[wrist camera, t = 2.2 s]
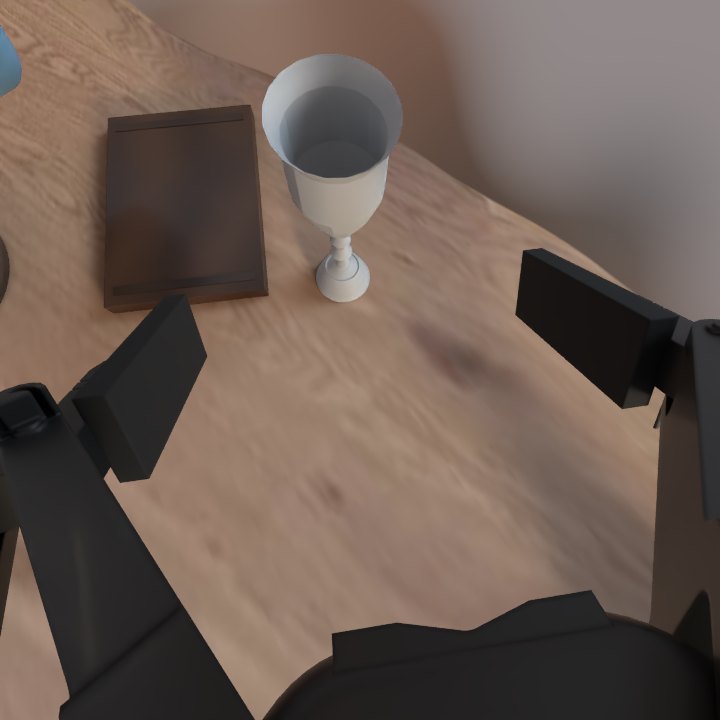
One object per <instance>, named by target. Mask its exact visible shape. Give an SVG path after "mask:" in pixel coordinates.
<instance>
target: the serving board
mask: <svg viewBox="0 0 720 720" xmlns="http://www.w3.org/2000/svg"><path fill="white" fill-rule="evenodd" d="M179 294H186V296H187V299H188V302H189V305H190V304H199V303H207V302H216V301H225V300H233V299H242V298H251V297H259V296H268V295H269V294H268V282H267V270H266V257H265V245H264V233H263V221H262V208H261V196H260V184H259V172H258V159H257V147H256V135H255V123H254V115H253V112H252V108H251V105H241V106H230V107H220V108H209V109H199V110H188V111H177V112H167V113H156V114H146V115H135V116H124V117H114V118H108V142H107V188H106V234H105V280H104V308H106V309H107V310H109V311H111V312H113V313H121V312H129V311H138V310H147V309H154V308H155V307H156V306H157V305H158V303H159V302H160V301H161V300H162V299H163V298H164V297H165V296H171V295H179Z"/></svg>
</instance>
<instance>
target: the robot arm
mask: <svg viewBox="0 0 720 720" xmlns="http://www.w3.org/2000/svg"><path fill="white" fill-rule="evenodd" d="M21 72H22V68H21V62H20V59H19V56H18V54H17V52H16V50H15V48H14V46H13V45H12V43H11V41H10V40H9V38H8V36H7V35H6V33H5V32H4V30H3V28H2V27H1V25H0V97H2V96H3V95H5V94H7V93H8V92H10V91H11V90H13V89H14V88H16V86H17V85H18V84H19V82H20V80H21ZM8 278H9V258H8V253H7V250H6V247H5V245H4V242H3V240H2V239H1V237H0V303H1V301H2V298H3V296H4V293H5V291H6V287H7V283H8ZM516 316H517V317H518V318H520V319H521V320H522V321H523V322H524V323H525V324H526V325H528V326H529V327H530V328H531V329H532V330H533V331H534V332H535V333H537V334H538V335H539V336H540V337H541V338H542V339H543V340H544V341H546V342H547V343H548V344H549V345H550V346H551V347H552V348H554V349H555V350H556V351H557V352H558V353H559V354H560V355H561V356H563V357H564V358H565V359H566V360H567V361H568V362H569V363H570V364H572V365H573V366H574V367H575V368H576V369H577V370H578V371H580V372H581V373H582V374H583V375H584V376H585V377H586V378H587V379H589V380H590V381H591V382H592V383H593V384H594V385H595V386H596V387H598V388H599V389H600V390H601V391H602V392H603V393H604V394H606V395H607V396H608V397H609V398H610V399H611V400H612V401H613V402H615V403H616V404H617V405H618V406H619V407H620V408H621V409H625V408H632V407H639V406H646V405H648V404H649V401H650V398H651V395H652V392H653V390H654V387H656V388H658V389H659V390H660V391H662V392H663V393H665V394H666V395H665V398H664V400H663V403H662V405H661V408H660V411H659V413H658V416H657V419H656V421H655V424H654V427H653V428H656V429H658V428H659V427H660V440H659V460H658V480H657V501H656V521H655V541H654V562H653V582H652V602H651V616H650V622H649V624H648V623H645V622H642V621H639V620H636V619H633V618H630V617H626V616H622V615H618V614H613V613H609V612H604V610H603V608H602V607H601V605H600V603H599V602H598V600H597V598H596V597H595V595H594V594H593V592H592V590H589V591H583V592H577V593H571V594H565V595H559V596H553V597H547V598H541V599H535V600H530V601H527V602H526V603H524V604H522V605H520V606H518V607H516V608H514V609H512V610H510V611H508V612H506V613H504V614H503V615H501V616H499V617H497V618H495V619H493V620H491V621H489V622H487V623H485V624H483V625H481V626H480V627H478V628H476V629H473V630H469V631H461V630H453V629H445V628H437V627H428V626H420V625H412V624H403V623H392V624H386V625H380V626H374V627H368V628H362V629H356V630H350V631H345V632H339V633H333V634H332V647H333V655H332V656H330V657H328V658H326V659H324V660H322V661H321V662H319V663H318V664H316V665H315V666H313V667H312V668H310V669H309V670H307V671H306V672H305V673H304V674H302V675H301V676H300V677H299V678H298V679H297V680H296V681H294V682H293V683H292V684H291V685H290V686H289V687H288V688H287V689H286V691H285V692H284V693H283V694H282V695H281V696H280V697H279V698H278V699H277V701H276V702H275V703H274V705H273V706H272V707H271V709H270V710H269V711H268V713H267V714H266V715H265V717H264V718H263V720H720V320H717V319H705V320H699V321H696V322H693V321H691V320H688V319H686V318H684V317H682V316H680V315H678V314H676V313H674V312H672V311H670V310H668V309H665V308H663V307H662V306H660V305H658V304H656V303H653V302H652V301H650V300H648V299H646V298H644V297H641V296H640V295H636V294H634V293H632V292H630V291H628V290H626V289H624V288H622V287H620V286H618V285H616V284H614V283H612V282H610V281H608V280H606V279H604V278H602V277H600V276H598V275H596V274H594V273H592V272H589V271H587V270H585V269H583V268H581V267H579V266H577V265H575V264H573V263H571V262H569V261H567V260H565V259H563V258H561V257H559V256H557V255H555V254H553V253H551V252H549V251H547V250H545V249H543V248H539V249H531V250H524V251H523V256H522V264H521V273H520V281H519V289H518V298H517V306H516ZM206 358H207V354H206V351H205V348H204V345H203V343H202V340H201V337H200V334H199V331H198V328H197V325H196V322H195V319H194V316H193V313H192V311H191V308H190V305H189V302H188V299H187V296H186V294H179V295H171V296H165V297H164V298H163V299H162V300H161V301H160V302H159V303H158V305H157V306H156V307H155V308H154V309H153V310H152V311H151V312H150V313H149V314H148V316H147V317H146V318H145V319H144V320H143V321H142V322H141V323H140V324H139V325H138V326H137V328H136V329H135V330H134V331H133V332H132V333H131V334H130V335H129V336H128V337H127V339H126V340H125V341H124V342H123V343H122V344H121V345H120V346H119V347H118V348H117V349H116V351H115V352H114V353H113V354H112V355H111V356H110V357H109V358H108V359H107V360H106V361H104V362H102V363H101V364H99V365H98V366H96V367H94V368H93V369H91V370H90V371H89V372H88V373H87V374H86V375H85V376H84V377H83V378H82V379H81V380H80V382H79V383H77V384H76V385H75V386H74V388H73V391H70V392H69V393H68V394H67V395H66V396H65V397H64V398H63V399H62V400H61V401H60V402H59V403H58V404H56V402H55V400H54V399H53V397H52V396H51V394H50V392H49V391H48V389H47V388H46V386H45V385H43V384H42V383H27V384H22V385H18V386H15V387H11V388H8V389H6V390H3V391H1V392H0V635H1V629H2V623H3V618H4V612H5V606H6V600H7V595H8V589H9V583H10V577H11V572H12V566H13V560H14V554H15V549H16V543H17V537H18V531H19V527H20V529H21V532H22V536H23V539H24V542H25V546H26V549H27V552H28V556H29V559H30V562H31V566H32V569H33V572H34V576H35V579H36V582H37V586H38V589H39V592H40V596H41V599H42V602H43V606H44V609H45V612H46V616H47V619H48V622H49V626H50V629H51V632H52V636H53V639H54V642H55V646H56V649H57V653H58V656H59V659H60V663H61V666H62V669H63V673H64V676H65V679H66V683H67V686H68V690H69V695H70V697H69V700H67V701H66V702H65V703H64V704H63V705H61V706H60V712H59V720H255V719H254V718H253V716H252V715H251V713H250V711H249V710H248V708H247V707H246V705H245V703H244V702H243V700H242V699H241V697H240V695H239V694H238V692H237V691H236V689H235V687H234V686H233V684H232V683H231V681H230V679H229V678H228V676H227V675H226V673H225V671H224V670H223V668H222V667H221V665H220V664H219V662H218V660H217V659H216V657H215V656H214V654H213V652H212V651H211V649H210V648H209V646H208V644H207V643H206V641H205V640H204V638H203V636H202V635H201V633H200V632H199V630H198V628H197V627H196V625H195V624H194V622H193V620H192V619H191V617H190V616H189V614H188V613H187V611H186V609H185V608H184V606H183V605H182V603H181V602H180V600H179V599H178V597H177V595H176V594H175V592H174V591H173V589H172V587H171V586H170V584H169V583H168V581H167V579H166V578H165V576H164V575H163V573H162V571H161V570H160V568H159V567H158V565H157V563H156V562H155V560H154V559H153V557H152V555H151V554H150V552H149V551H148V549H147V547H146V546H145V544H144V543H143V541H142V539H141V538H140V536H139V535H138V533H137V532H136V530H135V528H134V527H133V525H132V524H131V522H130V520H129V519H128V517H127V516H126V514H125V512H124V511H123V509H122V508H121V506H120V504H119V503H118V501H117V500H116V498H115V496H114V495H113V493H112V492H111V490H110V488H109V487H108V485H107V484H106V482H105V480H104V479H103V478H104V477H105V475H106V474H107V472H108V470H109V469H110V467H111V468H112V470H113V472H114V474H115V475H116V477H117V479H118V480H119V482H120V483H123V482H129V481H136V480H143V479H149V478H150V476H151V474H152V472H153V470H154V467H155V465H156V463H157V461H158V459H159V457H160V455H161V453H162V451H163V449H164V446H165V444H166V442H167V440H168V438H169V436H170V434H171V432H172V430H173V427H174V425H175V423H176V421H177V419H178V417H179V415H180V413H181V411H182V409H183V406H184V404H185V402H186V400H187V398H188V396H189V394H190V392H191V390H192V387H193V385H194V383H195V381H196V379H197V377H198V375H199V373H200V371H201V368H202V366H203V364H204V362H205V360H206Z"/></svg>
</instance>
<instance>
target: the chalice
mask: <svg viewBox="0 0 720 720" xmlns="http://www.w3.org/2000/svg"><path fill="white" fill-rule="evenodd" d="M402 124H403V116H402V106H401V101H400V99H399V97H398V95H397V93H396V91H395V89H394V86H393V85H392V84H391V82H390V81H389V80H388V79H387V78H386V77H385V76H384V75H383V74H382V73H381V72H380V71H379V70H378V69H376V68H375V67H373V66H371V65H369V64H368V63H366V62H364V61H363V60H361V59H357V58H353V57H349V56H346V55H342V54H318V55H315V56H312V57H308V58H305V59H302V60H299V61H297V62H295V63H294V64H292V65H291V66H289V67H288V68H286V69H285V70H283V71H282V72H280V74H279V75H278V76H277V77H276V79H275V80H274V81H273V82H272V84H271V85H270V86H269V87H268V90H267V93H266V96H265V99H264V102H263V105H262V125H263V128H264V131H265V133H266V136H267V139H268V141H269V144H270V145H271V146H272V147H273V149H274V150H275V151H276V152H277V154H278V155H279V156H280V157H281V159H282V163H283V167H284V171H285V175H286V179H287V183H288V187H289V191H290V193H291V196H292V199H293V201H294V203H295V205H296V206H297V207H298V208H299V210H300V211H301V212H302V213H303V215H304V216H305V217H306V218H307V219H308V220H309V221H310V223H311V224H312V225H313V226H315V227H316V228H318V229H319V230H321V231H322V232H324V233H326V234H327V235H329V236H330V241H331V243H332V244H333V245H332V247H331V253H330V254H329V255H327V256H326V258H325V259H324V260H323V261H322V262H321V264H320V265H319V267H318V270H317V273H316V283H317V285H318V288H319V290H320V291H321V292H322V294H323V295H324V296H325V297H327V298H329V299H330V300H332V301H336V302H340V303H341V302H350V301H353V300H356V299H358V298H359V297H360V296H362V295H363V294H364V292H365V291H366V289H367V288H368V285H369V281H370V273H369V270H368V268H367V265H366V264H365V263H364V262H363V260H362V259H361V258H359V256H357V255H356V254H355V253H353V252H352V248H351V246H350V245H349V243H350V241H351V236H350V235H352V234H353V233H354V232H356V231H357V230H358V229H360V228H361V227H362V226H364V225H365V224H366V223H367V221H368V220H369V219H370V217H371V216H372V214H373V213H374V212H375V210H376V209H377V207H378V206H379V204H380V202H381V201H382V197H383V193H384V189H385V183H386V175H387V166H388V158H389V154H390V152H391V151H392V149H393V148H394V146H395V145H396V143H397V142H398V140H399V136H400V132H401V128H402Z"/></svg>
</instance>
